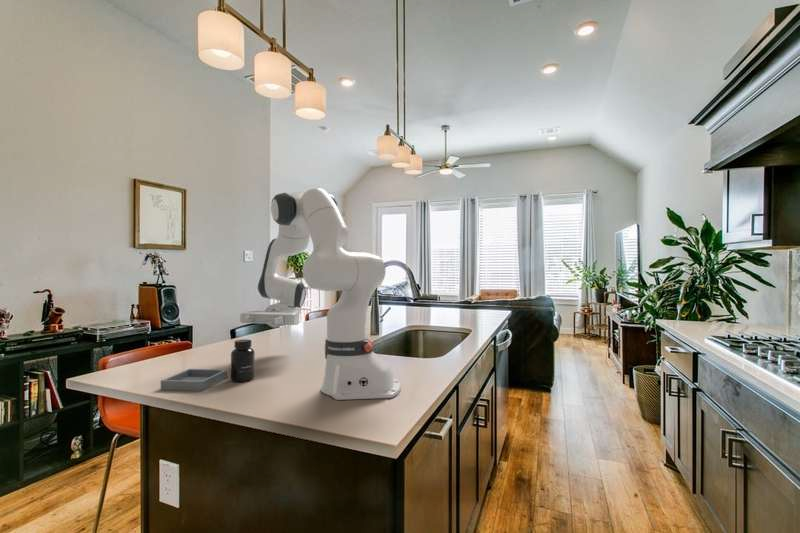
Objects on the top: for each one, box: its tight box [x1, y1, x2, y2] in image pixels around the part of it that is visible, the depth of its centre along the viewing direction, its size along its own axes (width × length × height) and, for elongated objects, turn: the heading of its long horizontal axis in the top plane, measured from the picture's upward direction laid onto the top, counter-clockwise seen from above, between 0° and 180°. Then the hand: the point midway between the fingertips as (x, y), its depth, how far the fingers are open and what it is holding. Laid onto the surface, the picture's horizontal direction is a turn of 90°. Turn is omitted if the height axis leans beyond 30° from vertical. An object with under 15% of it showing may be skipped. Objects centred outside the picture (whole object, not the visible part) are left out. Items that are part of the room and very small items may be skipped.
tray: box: [160, 368, 228, 392], centre depth 113 cm, size 13×13×2 cm
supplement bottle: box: [230, 338, 256, 383], centre depth 117 cm, size 7×7×12 cm
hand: (260, 320), depth 129 cm, fingers open, 8 cm apart
